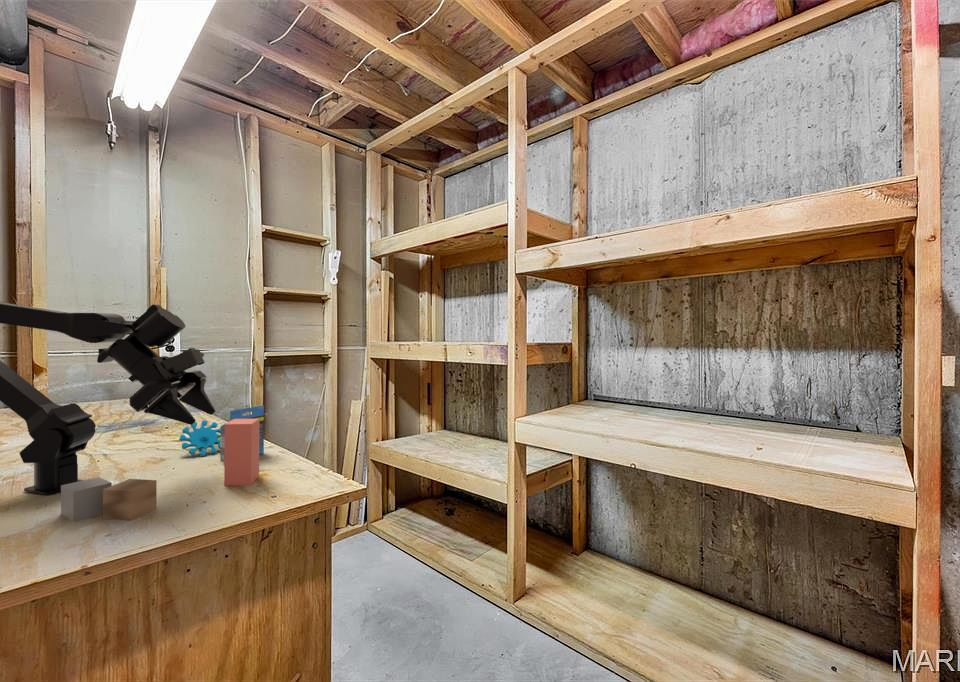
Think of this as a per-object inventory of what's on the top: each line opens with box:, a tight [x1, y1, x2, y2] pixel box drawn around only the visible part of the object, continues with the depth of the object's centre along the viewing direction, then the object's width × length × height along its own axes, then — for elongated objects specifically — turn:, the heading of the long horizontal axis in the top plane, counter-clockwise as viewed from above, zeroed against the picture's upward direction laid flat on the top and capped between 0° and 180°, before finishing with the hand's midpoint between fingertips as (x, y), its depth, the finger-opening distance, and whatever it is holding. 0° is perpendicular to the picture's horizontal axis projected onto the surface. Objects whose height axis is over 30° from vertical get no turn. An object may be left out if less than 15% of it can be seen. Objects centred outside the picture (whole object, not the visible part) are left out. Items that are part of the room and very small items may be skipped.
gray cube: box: [60, 476, 113, 523], centre depth 73 cm, size 5×5×5 cm
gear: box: [179, 419, 221, 457], centre depth 108 cm, size 11×6×10 cm
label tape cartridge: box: [219, 405, 265, 462], centre depth 104 cm, size 9×4×12 cm, turn 152°
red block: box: [223, 419, 260, 487], centre depth 89 cm, size 5×5×12 cm
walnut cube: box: [102, 478, 158, 521], centre depth 73 cm, size 5×5×5 cm
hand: (204, 417), depth 87 cm, fingers open, 9 cm apart
